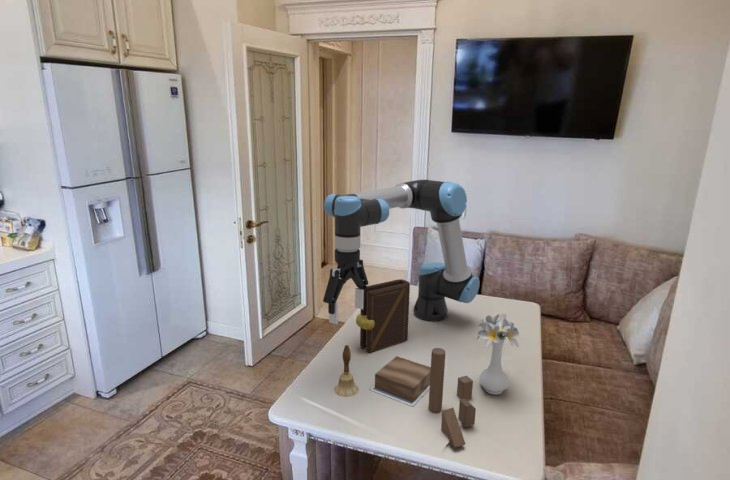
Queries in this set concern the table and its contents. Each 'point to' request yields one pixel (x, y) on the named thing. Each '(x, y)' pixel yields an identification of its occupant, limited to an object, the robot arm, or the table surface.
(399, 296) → the book
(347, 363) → the hand bell
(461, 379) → the wooden blocks
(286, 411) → the table surface
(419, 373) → the walnut plinth
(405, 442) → the table surface
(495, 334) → the flower vase
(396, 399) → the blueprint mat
